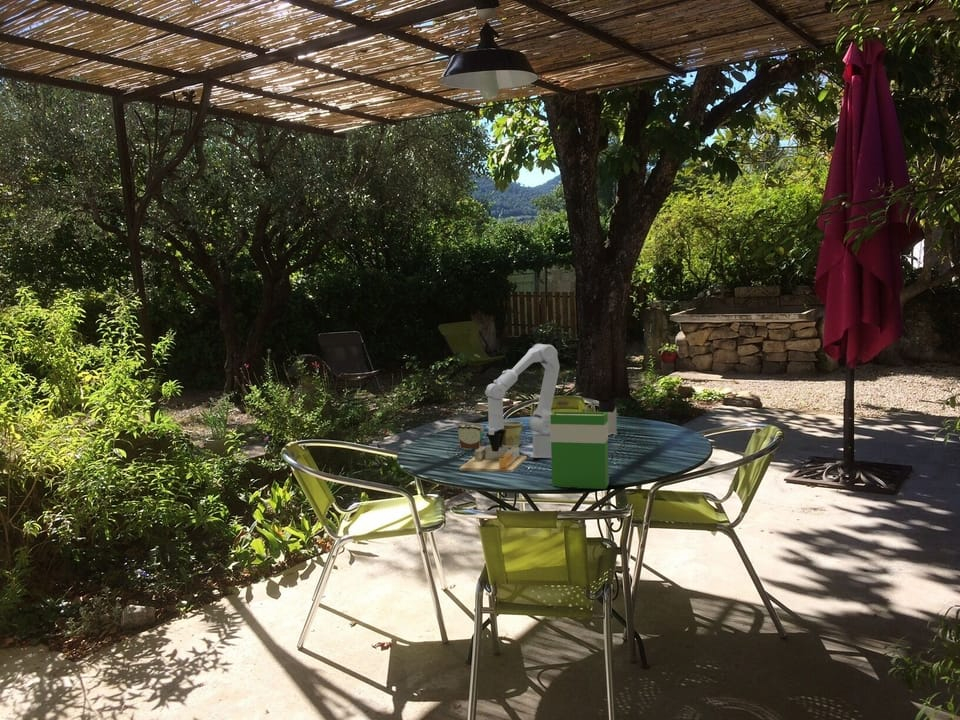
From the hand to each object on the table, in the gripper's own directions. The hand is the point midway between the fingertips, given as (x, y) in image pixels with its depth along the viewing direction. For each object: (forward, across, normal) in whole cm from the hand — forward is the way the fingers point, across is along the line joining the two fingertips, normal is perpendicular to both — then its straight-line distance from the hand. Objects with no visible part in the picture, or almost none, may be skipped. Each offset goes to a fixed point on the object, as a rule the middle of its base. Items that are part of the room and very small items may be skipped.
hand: (496, 450), depth 290 cm
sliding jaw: (+3, +5, +6) cm, 9 cm away
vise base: (+5, +5, 0) cm, 6 cm away
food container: (+5, -24, -17) cm, 30 cm away
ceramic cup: (+5, -30, -2) cm, 30 cm away
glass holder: (+5, -60, +32) cm, 68 cm away
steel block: (+3, 0, 0) cm, 4 cm away
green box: (+5, +30, +37) cm, 48 cm away
